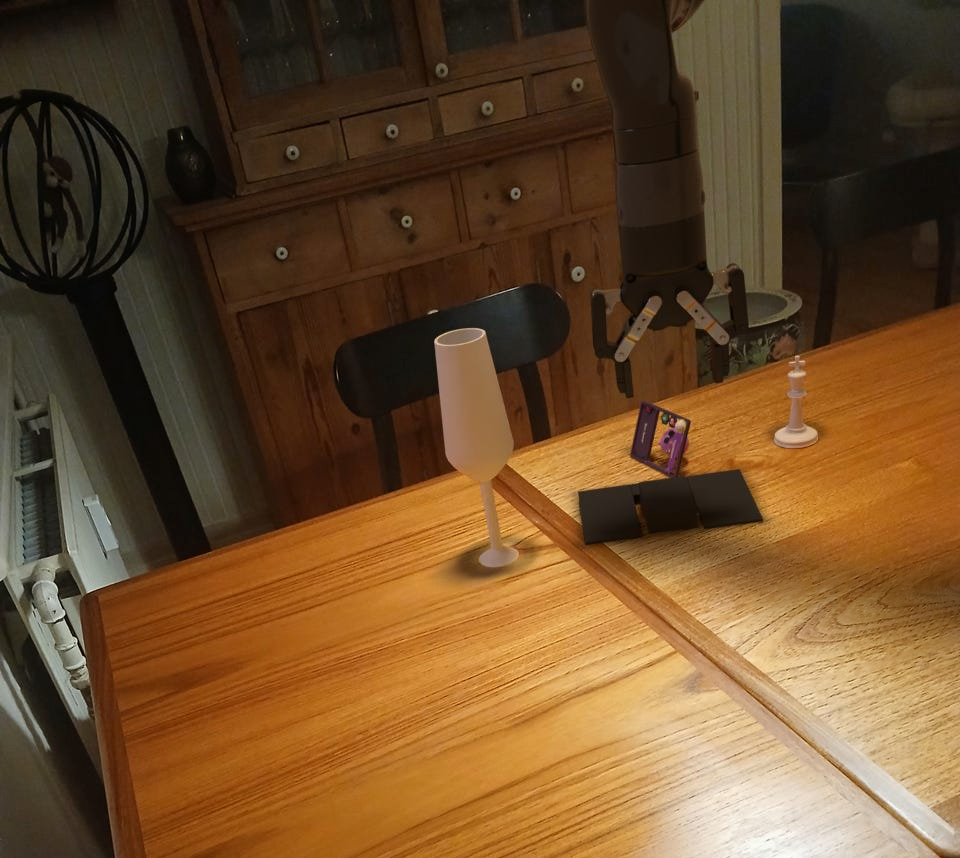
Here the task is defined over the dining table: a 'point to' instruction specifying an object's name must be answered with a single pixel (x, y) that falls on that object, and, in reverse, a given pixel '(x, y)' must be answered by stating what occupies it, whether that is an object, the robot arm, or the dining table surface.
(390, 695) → the dining table surface
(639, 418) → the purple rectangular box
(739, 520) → the notched mat
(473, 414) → the champagne flute
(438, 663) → the dining table surface
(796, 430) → the chess piece
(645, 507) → the small pad
